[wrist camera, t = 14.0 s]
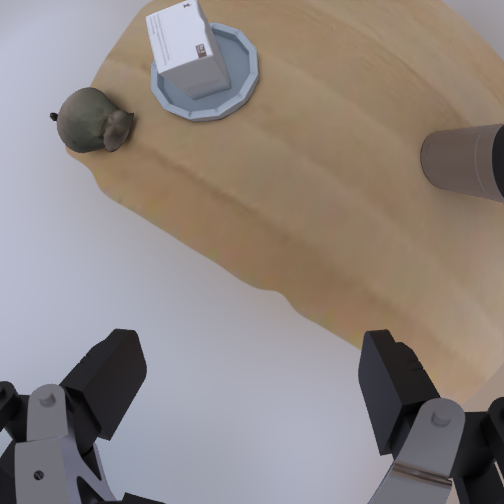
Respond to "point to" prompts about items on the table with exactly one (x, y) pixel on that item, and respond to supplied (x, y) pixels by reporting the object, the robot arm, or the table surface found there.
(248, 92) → the bowl
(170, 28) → the skincare box
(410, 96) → the table surface
